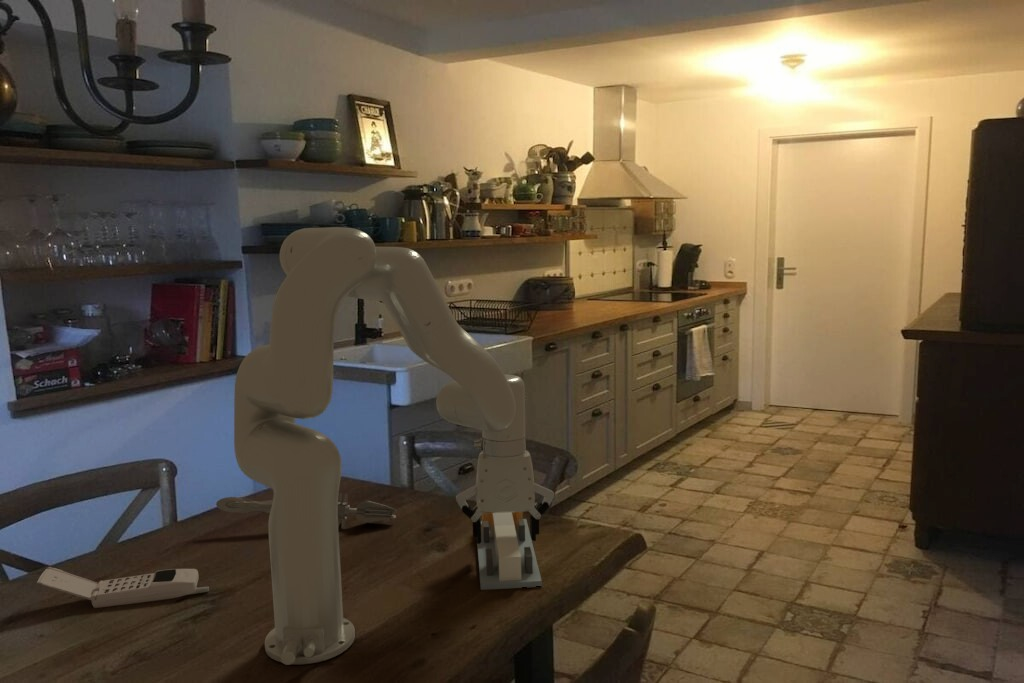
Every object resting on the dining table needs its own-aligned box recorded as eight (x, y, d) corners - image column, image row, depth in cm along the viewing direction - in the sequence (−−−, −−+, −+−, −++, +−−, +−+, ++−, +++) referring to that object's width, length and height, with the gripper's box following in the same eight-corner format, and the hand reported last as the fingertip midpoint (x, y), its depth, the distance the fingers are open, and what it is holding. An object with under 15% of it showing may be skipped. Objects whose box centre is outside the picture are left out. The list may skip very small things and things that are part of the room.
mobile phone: (45, 566, 131) (209, 547, 138) (49, 600, 132) (212, 580, 138) (33, 583, 126) (205, 562, 132) (38, 618, 127) (208, 596, 133)
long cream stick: (521, 579, 134) (520, 556, 133) (499, 580, 134) (498, 557, 133) (511, 529, 155) (511, 509, 155) (492, 530, 155) (492, 510, 155)
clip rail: (541, 586, 133) (541, 557, 133) (480, 589, 133) (480, 560, 132) (526, 523, 161) (525, 499, 160) (475, 526, 160) (475, 501, 159)
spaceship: (223, 484, 164) (213, 481, 156) (398, 494, 167) (397, 492, 159) (218, 524, 162) (208, 524, 154) (395, 534, 165) (393, 533, 157)
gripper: (454, 454, 137) (457, 550, 140) (556, 450, 139) (557, 545, 141) (454, 442, 145) (457, 533, 147) (550, 438, 146) (551, 529, 149)
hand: (506, 539), depth 144 cm, fingers open, 9 cm apart
